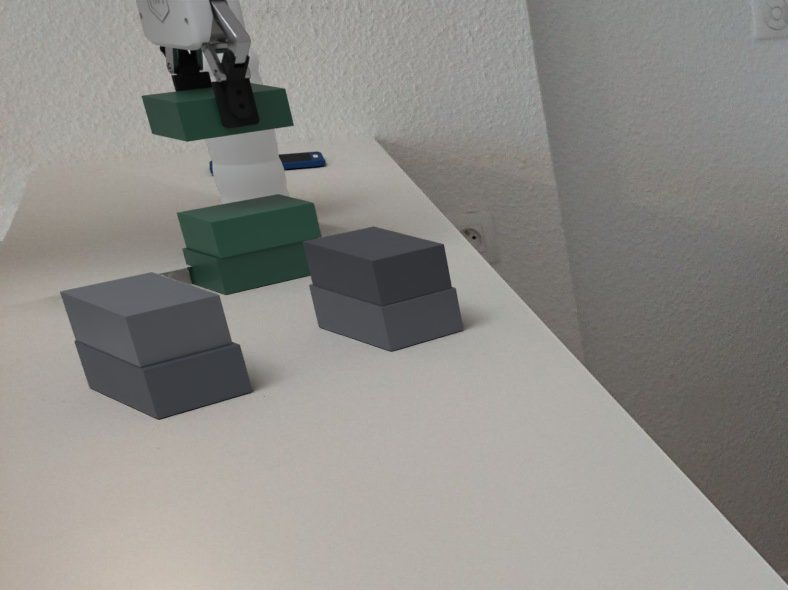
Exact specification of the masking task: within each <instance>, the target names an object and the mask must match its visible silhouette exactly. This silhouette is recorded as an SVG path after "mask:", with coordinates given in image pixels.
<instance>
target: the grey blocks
mask: <svg viewBox="0 0 788 590" xmlns="http://www.w3.org/2000/svg"><path fill="white" fill-rule="evenodd" d="M303 245H304V250H305V254H306V258H307V262H308V267H309V271H310V275H309V276H310V279H311V283H310V284H308V288H309V292H310V295H311V300H312V305H313V309H314V313H315V317H316V321H317V325H318V327H319V328H321V329H323V330H327V331H328V332H329V331H330V332H333V333H335V334H339V335H341V336H344V337H347V338H349V339H354V340H356V341H358V342H362V343H366V344H369V345H372V346H374V347H378V348H380V349H384V350H385V351H389V352H394V351H396V350H397V351H398V350H401V349H403V348H407V347H410V346H414V345H417V344H421V343H424V342H427V341H432V340H435V339H438V338H441V337H442V338H443V337H445V336H449V335H452V334H455V333H459V332H462V331H464V324H463V319H462V314H461V308H460V302H459V298H458V292H457V288H456V287H454V286H452V280H451V275H450V274H451V273H450V269H449V263H448V258H447V252H446V246H445V244H444V243H442V242H437V241H434V240H429V239H426V238H421V237H417V236H413V235H409V234H405V233H401V232H397V231H393V230H390V229H386V228H381V227H377V226H369V227H364V228H360V229H354V230H351V231H346V232H340V233H335V234H331V235H327V236H322V237H320V238H317V239H312V240H307V241H303ZM59 294H60V297H61V299H62V303H63V306H64V309H65V312H66V315H67V319H68V322H69V324H70V327H71V330H72V333H73V337H74V341H73V342H74V345H75V348H76V352H77V354H78V358H79V360H80V364H81V366H82V369H83V372H84V375H85V379H86V381H87V384H88V388H90V389H92V390H94V391H96V392H98V393H100V394H102V395H105V396H107V397H109V398H111V399H113V400H115V401H117V402H120V403H122V404H124V405H126V406H129V407H130V408H132V409H135V410H137V411H139V412H142V413H144V414H146V415H148V416H150V417H153V418H154V419H157V420H160V419H163V418H168V417H171V416H174V415H177V414H181V413H184V412H188V411H191V410H194V409H197V408H198V409H199V408H201V407H205V406H209V405H212V404H215V403H218V402H219V403H220V402H222V401H226V400H229V399H232V398H235V397H236V398H237V397H238V396H242V395H247V394H250V393H252V392H253V388H252V384H251V380H250V376H249V373H248V370H247V365H246V362H245V358H244V355H243V350H242V347H241V344H239V343H237V342H234V341H233V339H232V336H231V332H230V329H229V325H228V321H227V318H226V313H225V310H224V307H223V302H222V299H221V296H220V294H218V293H215V292H212V291H209V290H206V289H203V288H200V287H197V286H196V285H195V286H194V285H193V284H192V285H191V284H190V283H189V284H188V283H185V282H183V281H179V280H177V279H173V278H171V277H168V276H165V275H162V274H159V273H156V272H152V271H151V272H146V273H145V272H144V273H141V274H135V275H132V276H127V277H121V278H116V279H112V280H108V281H102V282H98V283H93V284H88V285H84V286H79V287H75V288H69V289H63V290H61V291H59Z"/></svg>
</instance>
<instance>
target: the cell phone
mask: <svg viewBox="0 0 788 590" xmlns="http://www.w3.org/2000/svg"><path fill="white" fill-rule="evenodd" d="M278 154H279V158H280V160H281V162H282V165H283V168H284V170H290V169H303V168H315V167H324V166H325V165H326V160H325V158H324V155H323V153H322V152H321V151H305V152H292V153H278ZM208 164H209V172H210V174H212V175H213V168H212V164H213V163H212V160H211V159H210V161H209V162H208Z"/></svg>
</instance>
